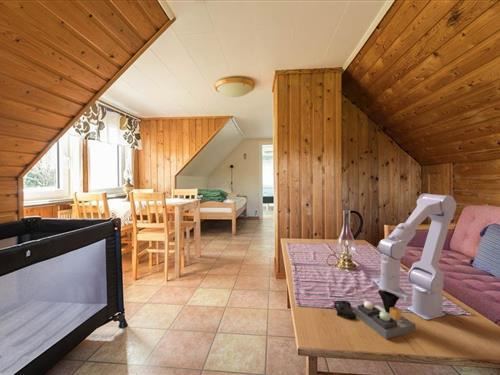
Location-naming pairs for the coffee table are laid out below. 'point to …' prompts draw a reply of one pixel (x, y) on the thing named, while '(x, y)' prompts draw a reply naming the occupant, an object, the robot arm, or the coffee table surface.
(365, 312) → the control panel
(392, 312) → the slider knob
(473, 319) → the coffee table surface
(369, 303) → the white button
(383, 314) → the green button
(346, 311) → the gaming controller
